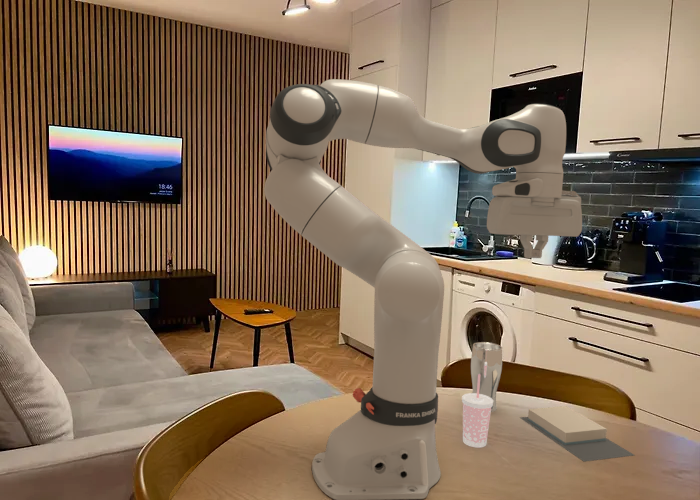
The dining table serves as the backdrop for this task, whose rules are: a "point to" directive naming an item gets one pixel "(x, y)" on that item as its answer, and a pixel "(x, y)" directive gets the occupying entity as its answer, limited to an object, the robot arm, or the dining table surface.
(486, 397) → the beverage cup
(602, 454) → the mat
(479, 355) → the beer glass
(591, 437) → the tile
